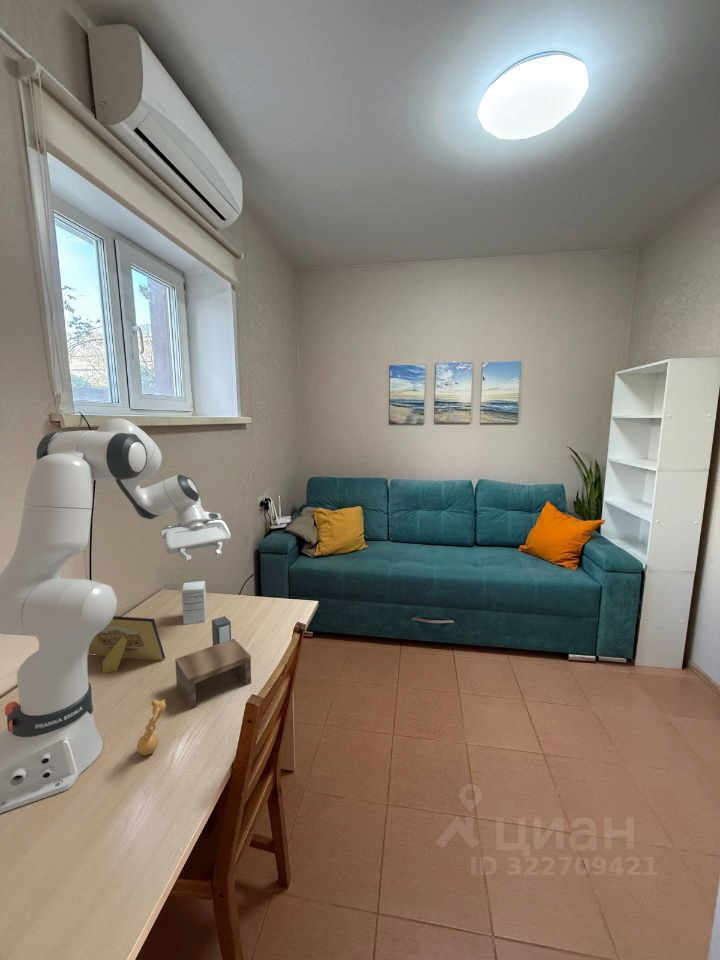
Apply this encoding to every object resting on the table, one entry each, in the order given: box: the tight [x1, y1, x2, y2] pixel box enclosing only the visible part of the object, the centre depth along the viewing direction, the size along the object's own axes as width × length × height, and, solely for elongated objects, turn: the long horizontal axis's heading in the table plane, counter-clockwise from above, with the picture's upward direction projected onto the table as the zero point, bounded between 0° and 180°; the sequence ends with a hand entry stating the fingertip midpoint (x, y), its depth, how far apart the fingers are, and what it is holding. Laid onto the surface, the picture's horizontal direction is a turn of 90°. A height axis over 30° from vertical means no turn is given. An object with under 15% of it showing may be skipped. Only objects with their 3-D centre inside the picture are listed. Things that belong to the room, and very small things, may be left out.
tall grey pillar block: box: [211, 615, 232, 646], centre depth 119 cm, size 4×5×11 cm
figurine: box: [136, 699, 167, 756], centre depth 83 cm, size 8×6×12 cm
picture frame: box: [88, 615, 166, 674], centre depth 112 cm, size 23×9×15 cm, turn 84°
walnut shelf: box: [175, 638, 252, 710], centre depth 105 cm, size 16×11×8 cm
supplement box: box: [181, 580, 207, 625], centre depth 140 cm, size 7×7×13 cm
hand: (204, 558), depth 125 cm, fingers open, 8 cm apart
